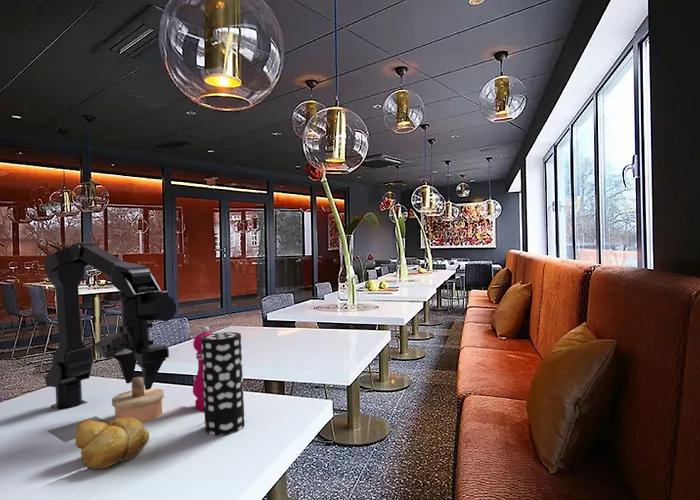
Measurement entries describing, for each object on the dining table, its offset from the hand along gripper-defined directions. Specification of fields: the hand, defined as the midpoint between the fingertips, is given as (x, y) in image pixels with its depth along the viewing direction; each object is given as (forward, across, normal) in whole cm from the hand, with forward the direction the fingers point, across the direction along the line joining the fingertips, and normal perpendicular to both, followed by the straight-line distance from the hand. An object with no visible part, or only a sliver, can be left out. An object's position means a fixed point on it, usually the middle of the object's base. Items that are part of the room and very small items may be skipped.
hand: (138, 386), depth 105 cm
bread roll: (+8, +16, -12) cm, 22 cm away
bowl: (+8, 0, 0) cm, 8 cm away
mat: (+8, -4, -11) cm, 14 cm away
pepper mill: (+8, +7, +14) cm, 17 cm away
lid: (+3, 0, 0) cm, 3 cm away
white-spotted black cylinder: (+8, +22, +8) cm, 25 cm away
